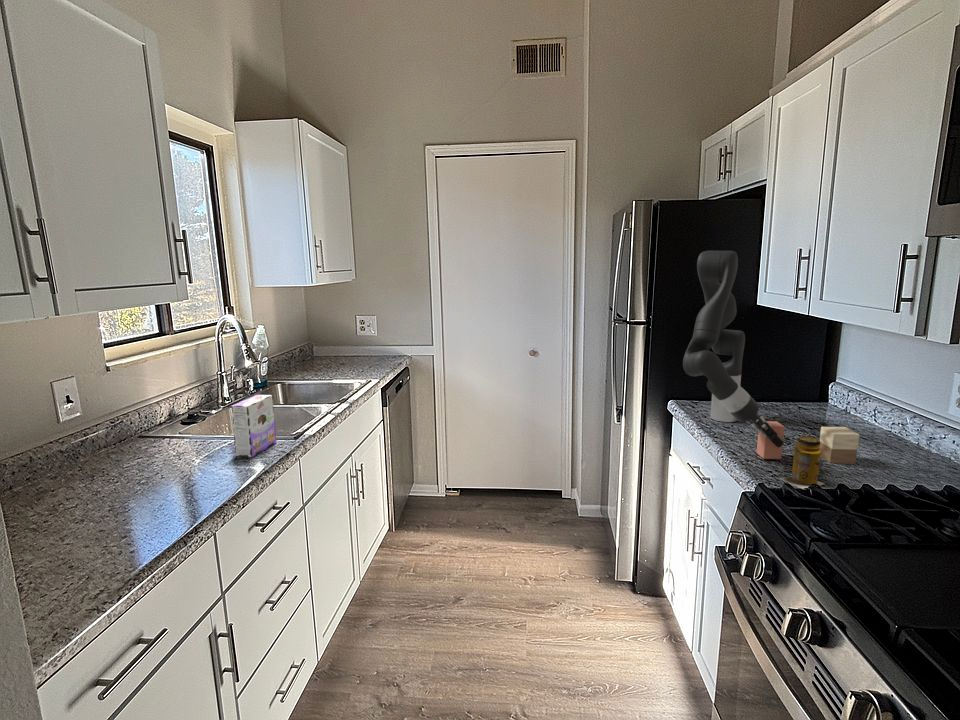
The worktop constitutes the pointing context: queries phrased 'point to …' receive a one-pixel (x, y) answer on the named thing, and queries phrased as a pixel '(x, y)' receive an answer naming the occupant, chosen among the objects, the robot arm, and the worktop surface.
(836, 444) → the tower top
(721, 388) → the robot arm
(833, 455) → the tower base
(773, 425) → the tall block
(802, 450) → the condiment
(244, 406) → the candy box
